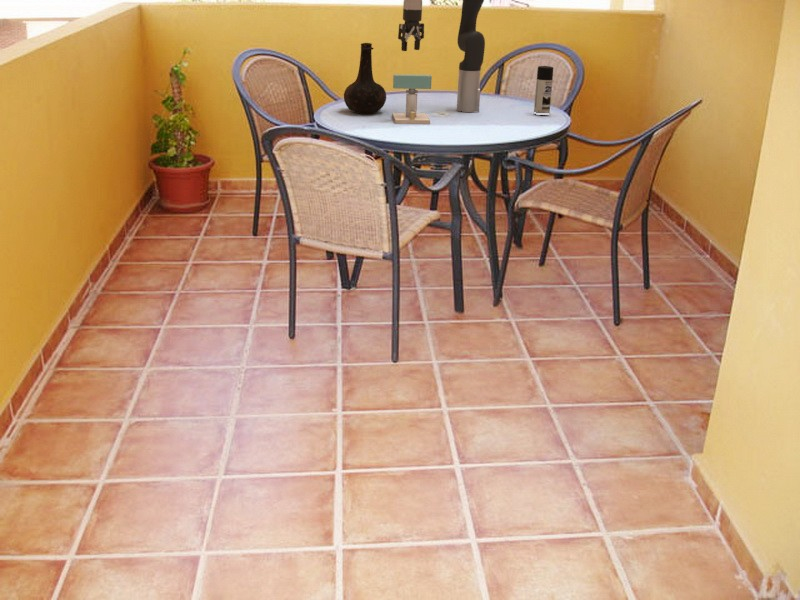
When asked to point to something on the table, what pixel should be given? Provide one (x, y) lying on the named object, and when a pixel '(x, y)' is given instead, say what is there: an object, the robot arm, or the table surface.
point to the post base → (411, 113)
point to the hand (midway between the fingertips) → (410, 50)
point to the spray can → (543, 89)
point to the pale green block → (412, 82)
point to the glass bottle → (365, 87)
